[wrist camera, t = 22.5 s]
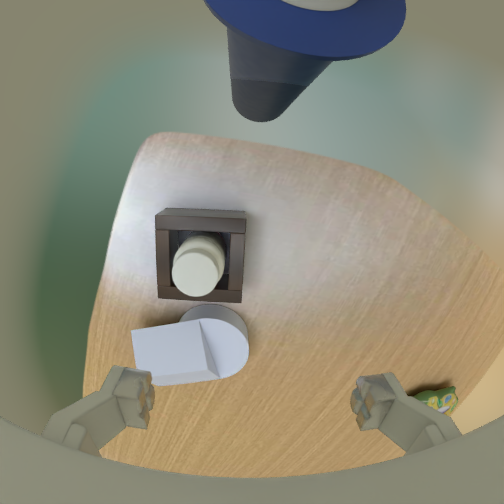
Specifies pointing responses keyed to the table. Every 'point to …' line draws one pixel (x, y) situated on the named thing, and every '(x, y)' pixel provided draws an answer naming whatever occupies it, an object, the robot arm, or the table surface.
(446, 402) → the educational model
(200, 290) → the pill bottle
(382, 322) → the table surface
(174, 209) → the socket
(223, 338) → the wedge on round base
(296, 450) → the table surface
